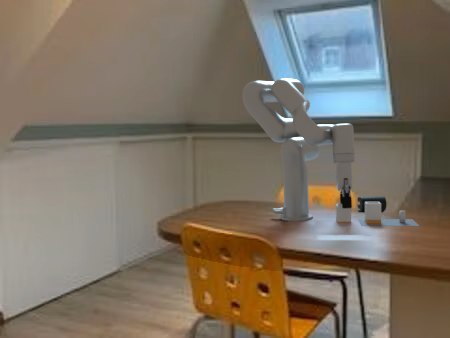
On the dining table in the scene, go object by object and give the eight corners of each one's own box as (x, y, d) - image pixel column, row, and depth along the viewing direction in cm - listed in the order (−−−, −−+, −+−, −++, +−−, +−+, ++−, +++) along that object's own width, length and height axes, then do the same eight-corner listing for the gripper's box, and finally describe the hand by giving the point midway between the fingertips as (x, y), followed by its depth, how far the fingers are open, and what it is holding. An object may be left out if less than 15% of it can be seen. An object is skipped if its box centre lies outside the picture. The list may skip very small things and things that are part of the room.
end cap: (362, 214, 204) (362, 198, 203) (356, 211, 211) (356, 195, 210) (386, 213, 204) (386, 197, 204) (380, 210, 211) (380, 194, 211)
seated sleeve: (366, 223, 178) (366, 203, 177) (364, 220, 183) (364, 201, 182) (381, 223, 177) (381, 203, 177) (379, 220, 182) (379, 201, 182)
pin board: (361, 229, 175) (361, 214, 175) (358, 223, 187) (358, 208, 186) (419, 230, 172) (419, 214, 172) (412, 223, 184) (412, 208, 183)
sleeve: (336, 225, 182) (336, 206, 181) (336, 222, 187) (335, 203, 186) (351, 225, 181) (351, 206, 180) (350, 222, 186) (349, 203, 185)
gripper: (331, 157, 191) (333, 203, 192) (334, 160, 173) (336, 210, 175) (352, 156, 189) (354, 202, 190) (357, 159, 172) (359, 209, 173)
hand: (345, 206), depth 182 cm, fingers open, 9 cm apart
